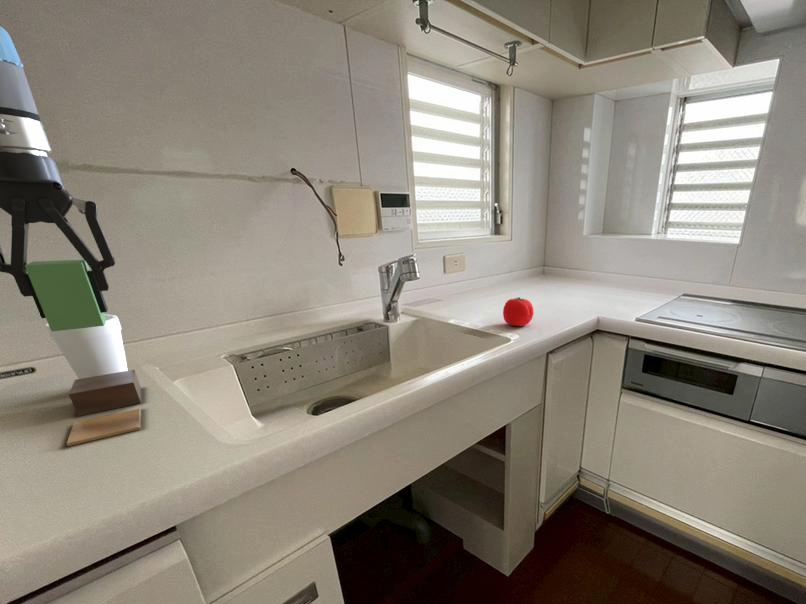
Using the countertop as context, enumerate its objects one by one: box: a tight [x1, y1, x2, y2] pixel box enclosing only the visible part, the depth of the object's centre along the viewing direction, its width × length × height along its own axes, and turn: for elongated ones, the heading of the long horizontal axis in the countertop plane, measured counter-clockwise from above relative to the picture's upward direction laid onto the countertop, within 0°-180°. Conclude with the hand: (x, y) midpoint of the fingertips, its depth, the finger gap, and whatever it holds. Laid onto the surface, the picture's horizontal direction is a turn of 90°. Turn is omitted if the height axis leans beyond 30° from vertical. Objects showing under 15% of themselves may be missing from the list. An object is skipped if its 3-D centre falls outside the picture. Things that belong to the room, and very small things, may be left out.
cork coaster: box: [66, 408, 142, 447], centre depth 63 cm, size 8×8×1 cm
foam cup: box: [45, 313, 129, 379], centre depth 75 cm, size 10×9×13 cm
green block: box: [25, 259, 106, 331], centre depth 64 cm, size 6×6×10 cm
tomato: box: [502, 297, 535, 327], centre depth 122 cm, size 9×10×8 cm
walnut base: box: [68, 369, 142, 417], centre depth 71 cm, size 8×8×4 cm
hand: (76, 313), depth 65 cm, fingers closed on green block, 6 cm apart
